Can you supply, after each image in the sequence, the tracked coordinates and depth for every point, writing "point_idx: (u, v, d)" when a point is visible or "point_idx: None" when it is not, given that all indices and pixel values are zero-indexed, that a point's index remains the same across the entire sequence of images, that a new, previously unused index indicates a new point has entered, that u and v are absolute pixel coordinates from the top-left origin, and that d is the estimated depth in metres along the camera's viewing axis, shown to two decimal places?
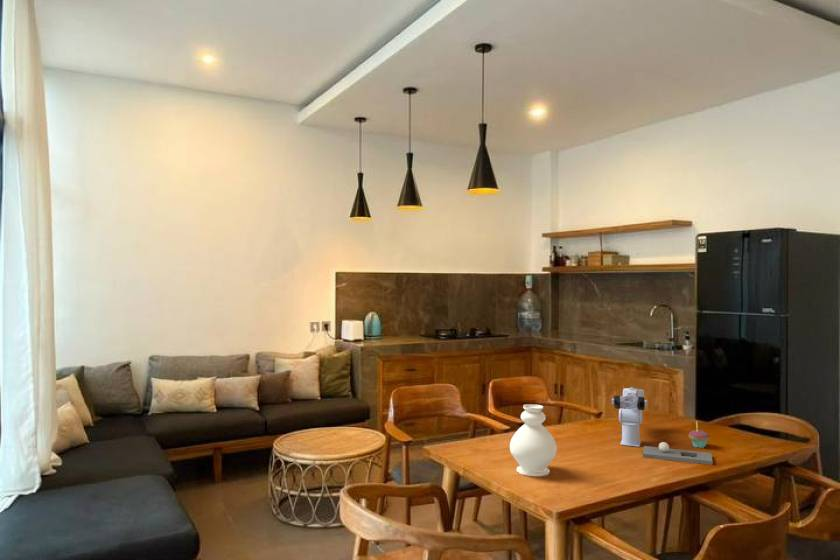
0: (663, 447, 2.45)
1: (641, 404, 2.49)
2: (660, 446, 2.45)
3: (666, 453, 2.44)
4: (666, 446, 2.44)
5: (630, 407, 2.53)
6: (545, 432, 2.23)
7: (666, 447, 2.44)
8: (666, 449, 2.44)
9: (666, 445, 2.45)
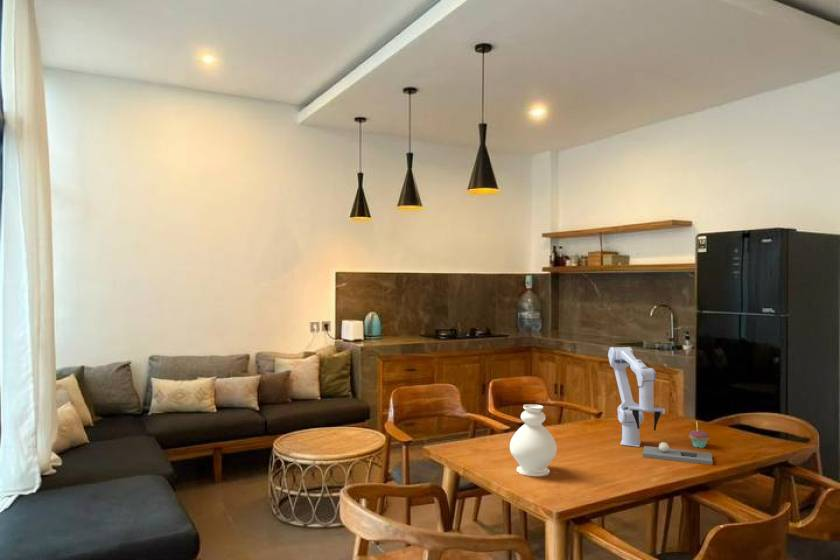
0: (663, 447, 2.45)
1: None
2: (660, 446, 2.45)
3: (666, 453, 2.44)
4: (666, 446, 2.44)
5: None
6: (545, 432, 2.23)
7: (666, 447, 2.44)
8: (666, 449, 2.44)
9: (666, 445, 2.45)
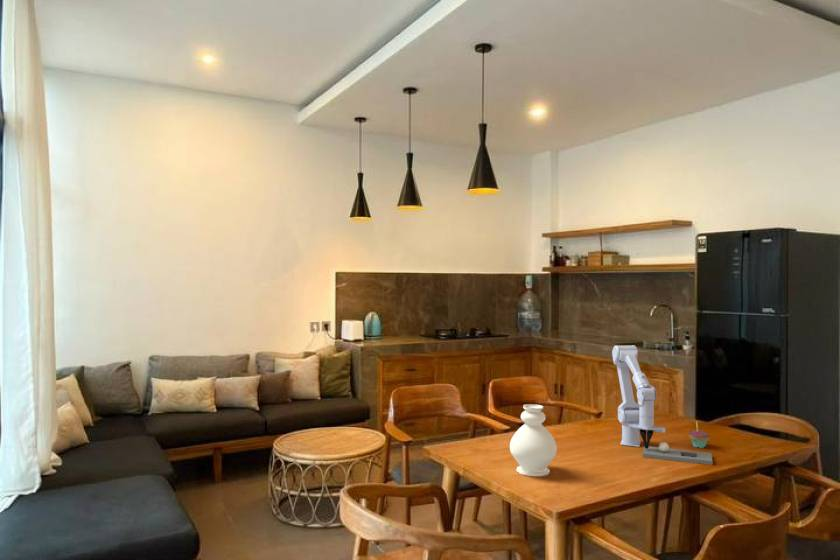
0: (663, 447, 2.45)
1: None
2: (660, 446, 2.45)
3: (666, 453, 2.44)
4: (666, 446, 2.44)
5: None
6: (545, 432, 2.23)
7: (666, 447, 2.44)
8: (666, 449, 2.44)
9: (666, 445, 2.45)
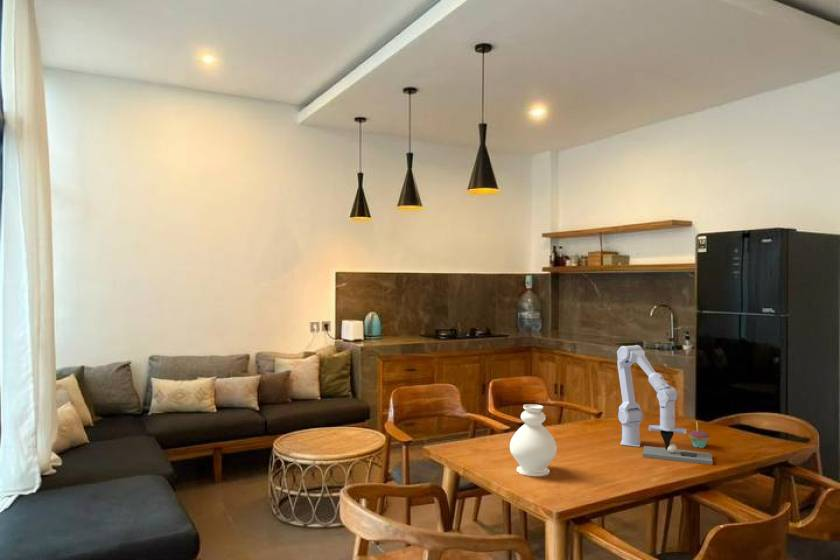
0: (671, 448, 2.43)
1: None
2: (672, 445, 2.44)
3: (666, 453, 2.44)
4: (673, 451, 2.43)
5: None
6: (545, 432, 2.23)
7: (672, 451, 2.43)
8: (670, 451, 2.44)
9: (674, 451, 2.43)
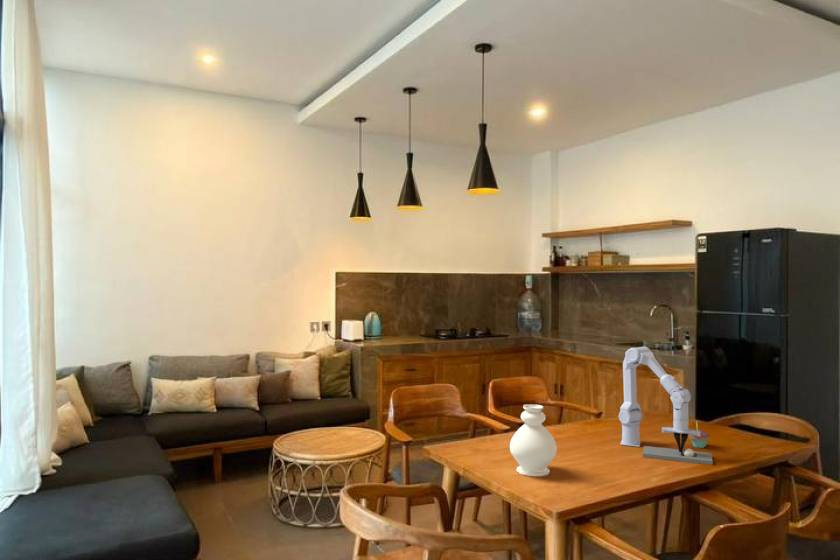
0: (687, 454, 2.41)
1: None
2: None
3: (666, 453, 2.44)
4: (686, 451, 2.42)
5: None
6: (545, 432, 2.23)
7: (687, 451, 2.41)
8: (689, 451, 2.41)
9: (685, 451, 2.42)
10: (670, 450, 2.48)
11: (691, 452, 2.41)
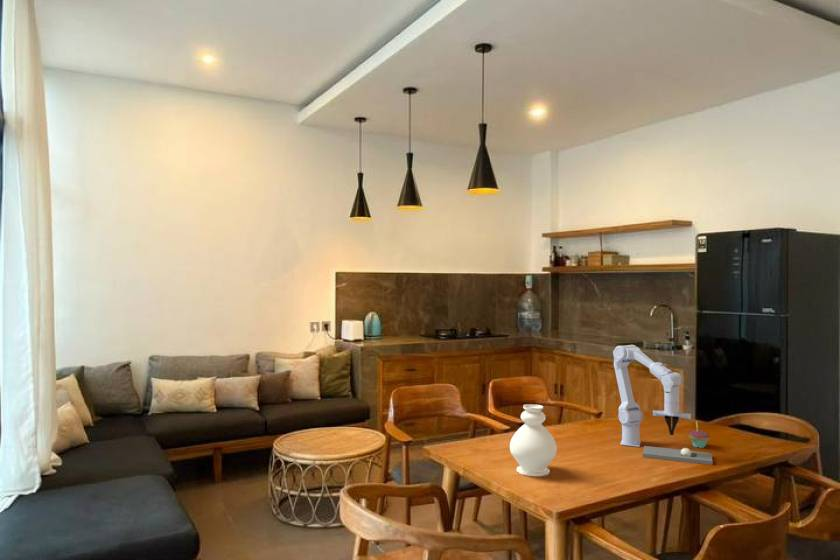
0: (685, 454, 2.41)
1: None
2: None
3: (666, 453, 2.44)
4: (682, 451, 2.42)
5: None
6: (545, 432, 2.23)
7: (683, 451, 2.42)
8: (685, 450, 2.42)
9: (681, 452, 2.43)
10: (670, 450, 2.48)
11: (687, 450, 2.42)
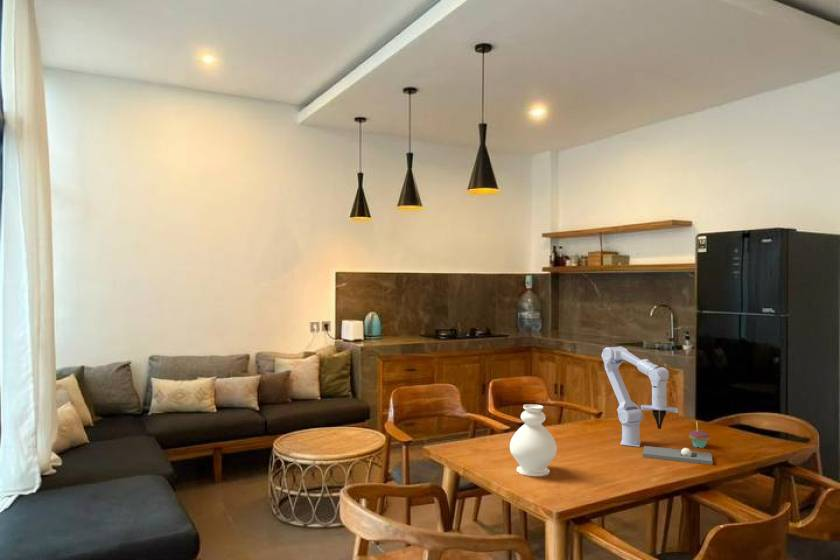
0: (685, 454, 2.41)
1: None
2: None
3: (666, 453, 2.44)
4: (683, 451, 2.42)
5: None
6: (545, 432, 2.23)
7: (683, 451, 2.42)
8: (685, 450, 2.42)
9: (682, 452, 2.43)
10: (670, 450, 2.48)
11: (688, 450, 2.42)
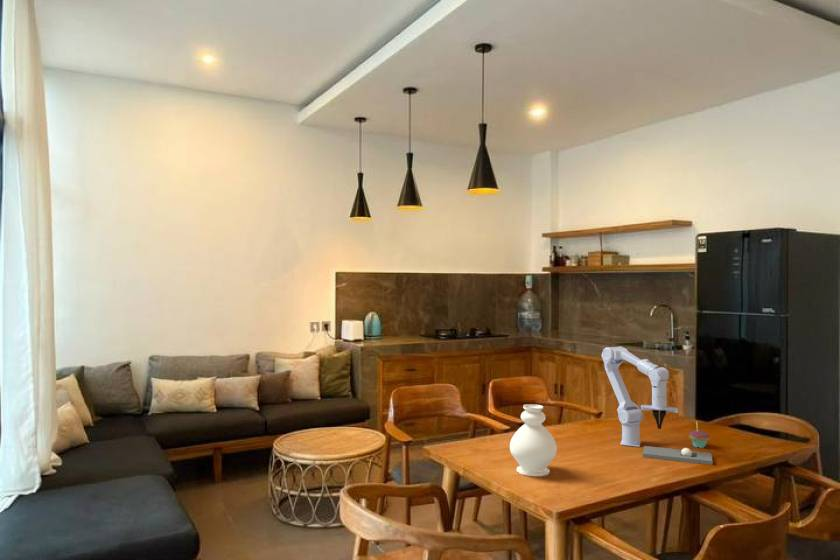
0: (686, 454, 2.41)
1: None
2: None
3: (666, 453, 2.44)
4: (683, 451, 2.42)
5: None
6: (545, 432, 2.23)
7: (684, 451, 2.42)
8: (686, 450, 2.42)
9: (682, 451, 2.43)
10: (670, 450, 2.48)
11: (688, 450, 2.41)
